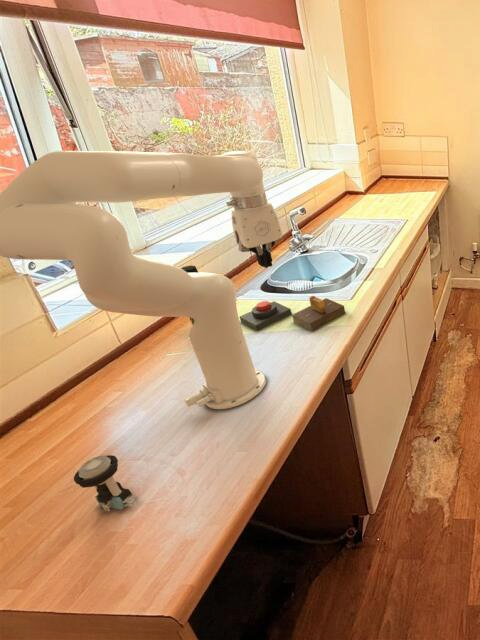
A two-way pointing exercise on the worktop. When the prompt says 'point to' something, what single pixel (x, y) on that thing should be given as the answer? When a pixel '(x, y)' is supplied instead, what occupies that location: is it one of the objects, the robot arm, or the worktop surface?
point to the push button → (104, 482)
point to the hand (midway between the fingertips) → (266, 265)
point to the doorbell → (265, 316)
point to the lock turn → (317, 304)
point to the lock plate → (318, 315)
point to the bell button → (263, 306)
